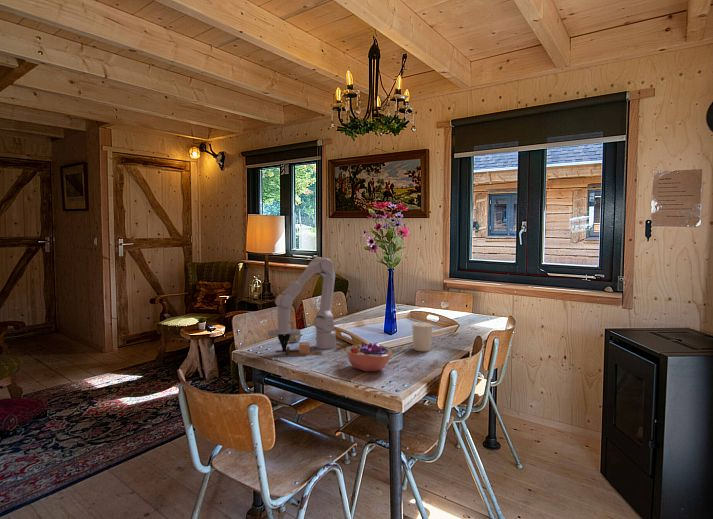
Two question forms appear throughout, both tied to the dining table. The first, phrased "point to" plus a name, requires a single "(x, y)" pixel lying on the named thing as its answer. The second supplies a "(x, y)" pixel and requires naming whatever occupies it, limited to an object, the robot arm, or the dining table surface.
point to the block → (304, 348)
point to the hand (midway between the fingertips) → (284, 350)
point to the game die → (294, 337)
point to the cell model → (368, 356)
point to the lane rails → (289, 355)
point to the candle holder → (422, 336)
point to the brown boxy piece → (306, 355)
